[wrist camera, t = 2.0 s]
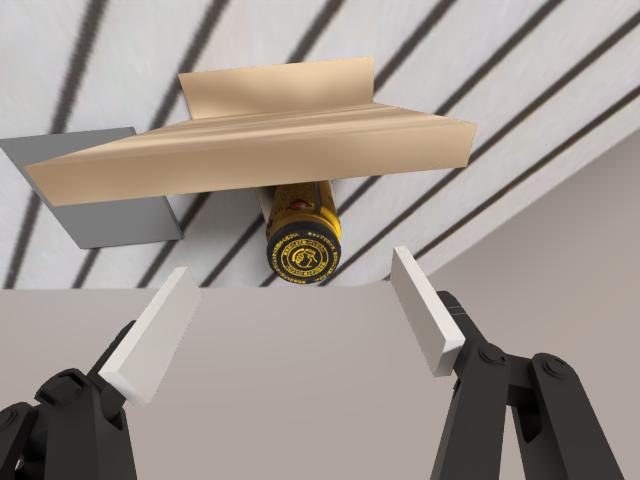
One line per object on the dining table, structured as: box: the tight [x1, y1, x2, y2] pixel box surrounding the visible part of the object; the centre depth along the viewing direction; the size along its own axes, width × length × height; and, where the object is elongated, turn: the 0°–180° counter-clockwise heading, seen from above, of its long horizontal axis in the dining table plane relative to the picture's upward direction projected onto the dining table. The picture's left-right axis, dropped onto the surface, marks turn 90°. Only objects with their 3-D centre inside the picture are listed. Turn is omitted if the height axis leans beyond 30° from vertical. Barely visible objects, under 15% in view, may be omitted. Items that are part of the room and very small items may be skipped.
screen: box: [23, 56, 478, 206], centre depth 15 cm, size 5×16×16 cm, turn 94°
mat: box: [0, 127, 184, 249], centre depth 25 cm, size 12×12×1 cm
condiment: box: [254, 180, 341, 284], centre depth 21 cm, size 7×8×12 cm
